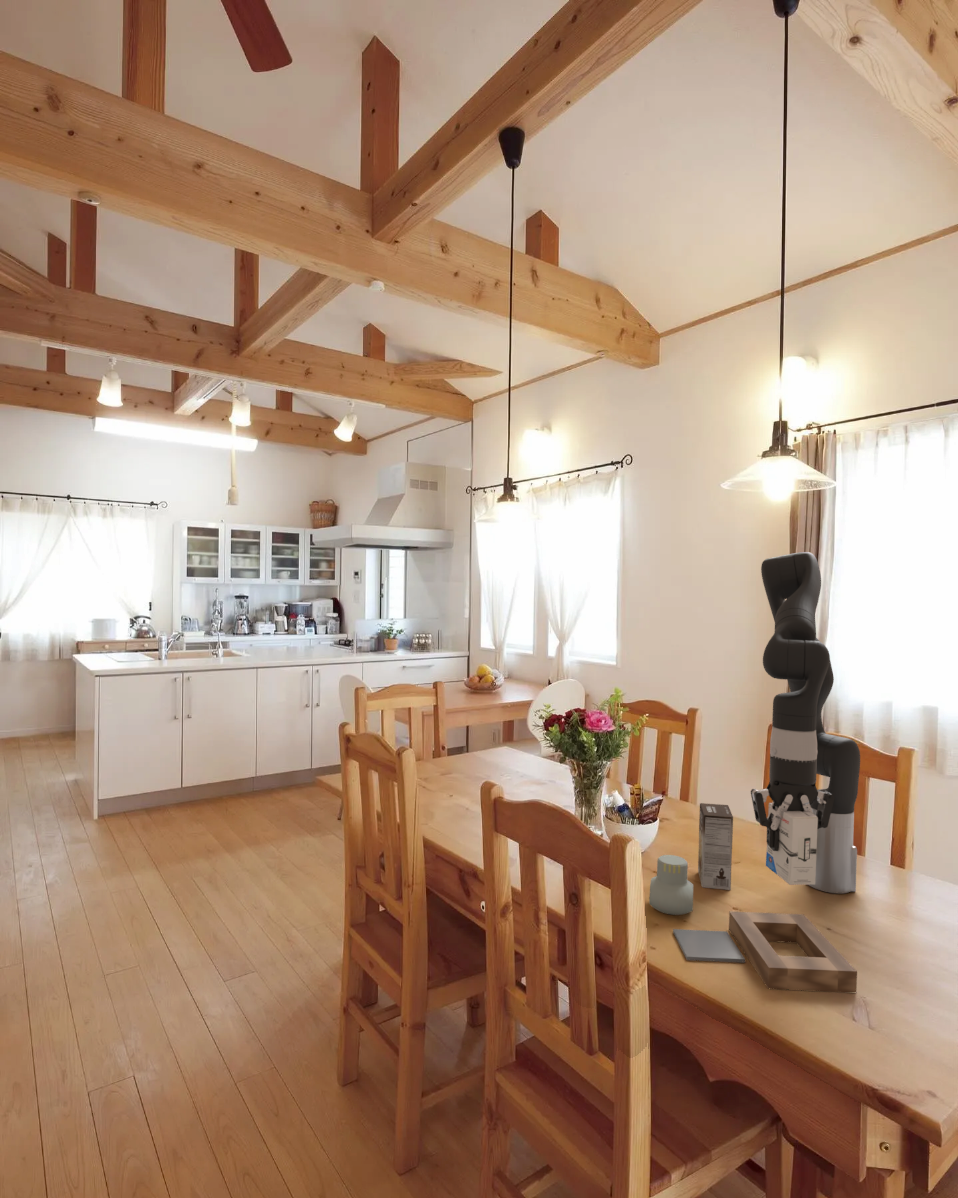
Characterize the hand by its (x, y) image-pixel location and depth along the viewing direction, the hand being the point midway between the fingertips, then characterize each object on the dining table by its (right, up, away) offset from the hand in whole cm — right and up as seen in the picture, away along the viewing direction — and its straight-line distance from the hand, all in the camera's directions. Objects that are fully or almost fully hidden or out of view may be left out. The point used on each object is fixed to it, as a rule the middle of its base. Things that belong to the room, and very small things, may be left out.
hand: (790, 849), depth 123 cm
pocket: (-1, -19, 0) cm, 19 cm away
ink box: (0, -5, 0) cm, 5 cm away
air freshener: (-16, -19, +19) cm, 31 cm away
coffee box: (-2, -19, +33) cm, 38 cm away
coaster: (-13, -19, +4) cm, 23 cm away
